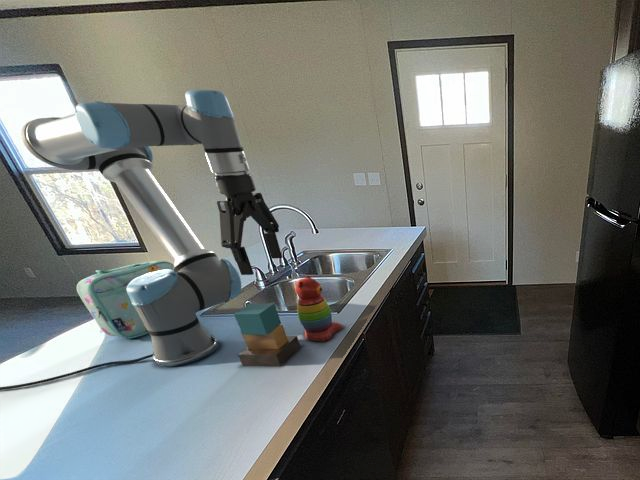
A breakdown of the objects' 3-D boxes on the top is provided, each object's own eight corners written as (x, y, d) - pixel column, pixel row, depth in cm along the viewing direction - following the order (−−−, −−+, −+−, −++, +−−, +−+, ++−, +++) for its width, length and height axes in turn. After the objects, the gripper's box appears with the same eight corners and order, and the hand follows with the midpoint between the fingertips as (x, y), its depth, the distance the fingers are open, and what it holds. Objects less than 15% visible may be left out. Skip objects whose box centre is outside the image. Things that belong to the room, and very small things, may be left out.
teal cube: (242, 334, 100) (233, 314, 97) (258, 323, 106) (250, 303, 103) (267, 334, 99) (259, 313, 96) (281, 323, 105) (274, 303, 102)
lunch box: (120, 346, 117) (79, 280, 106) (101, 342, 120) (59, 277, 109) (202, 312, 138) (175, 254, 127) (184, 309, 141) (156, 252, 130)
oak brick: (248, 349, 104) (241, 333, 101) (258, 340, 108) (252, 324, 105) (278, 349, 103) (272, 333, 100) (288, 340, 107) (282, 324, 104)
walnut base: (242, 365, 103) (237, 354, 101) (265, 346, 112) (261, 335, 111) (280, 366, 102) (276, 354, 100) (300, 346, 111) (297, 335, 109)
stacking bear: (326, 342, 113) (310, 285, 104) (296, 340, 115) (278, 284, 106) (344, 326, 122) (331, 272, 113) (316, 325, 124) (301, 272, 115)
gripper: (211, 179, 75) (248, 282, 86) (276, 168, 96) (300, 251, 107) (175, 180, 75) (217, 282, 86) (248, 169, 96) (274, 252, 108)
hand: (263, 265), depth 97 cm, fingers open, 13 cm apart
